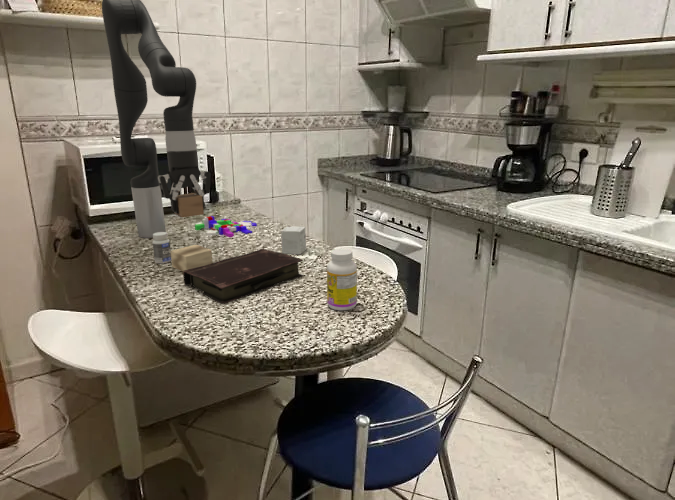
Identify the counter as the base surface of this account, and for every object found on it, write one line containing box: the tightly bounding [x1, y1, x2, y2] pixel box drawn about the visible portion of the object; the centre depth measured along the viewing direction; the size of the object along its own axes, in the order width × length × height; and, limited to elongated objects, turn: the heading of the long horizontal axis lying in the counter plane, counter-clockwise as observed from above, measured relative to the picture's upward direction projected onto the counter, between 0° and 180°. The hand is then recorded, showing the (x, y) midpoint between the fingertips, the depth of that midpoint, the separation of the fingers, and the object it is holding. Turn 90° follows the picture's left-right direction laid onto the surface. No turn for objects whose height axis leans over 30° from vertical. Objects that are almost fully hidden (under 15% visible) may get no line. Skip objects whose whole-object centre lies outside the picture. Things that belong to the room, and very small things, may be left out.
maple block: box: [171, 244, 214, 272], centre depth 128 cm, size 8×8×5 cm
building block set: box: [194, 215, 258, 238], centre depth 169 cm, size 25×20×4 cm
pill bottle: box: [151, 231, 172, 264], centre depth 132 cm, size 5×5×8 cm
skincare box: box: [280, 225, 307, 255], centre depth 140 cm, size 6×6×7 cm
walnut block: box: [174, 192, 205, 218], centre depth 124 cm, size 6×6×5 cm
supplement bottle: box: [326, 247, 358, 312], centre depth 101 cm, size 7×7×13 cm
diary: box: [182, 248, 305, 304], centre depth 118 cm, size 19×25×5 cm
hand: (188, 211), depth 124 cm, fingers closed on walnut block, 6 cm apart
